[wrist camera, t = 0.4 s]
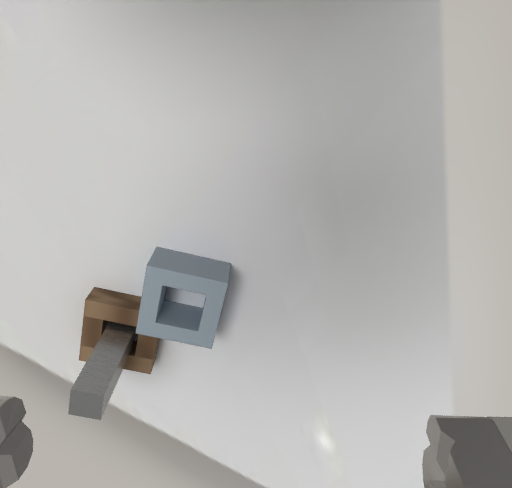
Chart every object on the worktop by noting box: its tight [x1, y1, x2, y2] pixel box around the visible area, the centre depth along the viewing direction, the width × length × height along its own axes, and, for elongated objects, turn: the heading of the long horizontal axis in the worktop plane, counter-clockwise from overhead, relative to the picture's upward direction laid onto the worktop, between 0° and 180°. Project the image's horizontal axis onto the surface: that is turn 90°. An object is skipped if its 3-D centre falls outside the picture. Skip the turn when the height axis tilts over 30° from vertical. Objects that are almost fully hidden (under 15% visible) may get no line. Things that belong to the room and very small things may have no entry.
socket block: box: [79, 287, 160, 374], centre depth 53 cm, size 9×9×3 cm
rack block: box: [136, 247, 231, 349], centre depth 50 cm, size 9×9×5 cm
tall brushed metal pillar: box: [69, 321, 137, 420], centre depth 48 cm, size 3×3×14 cm
